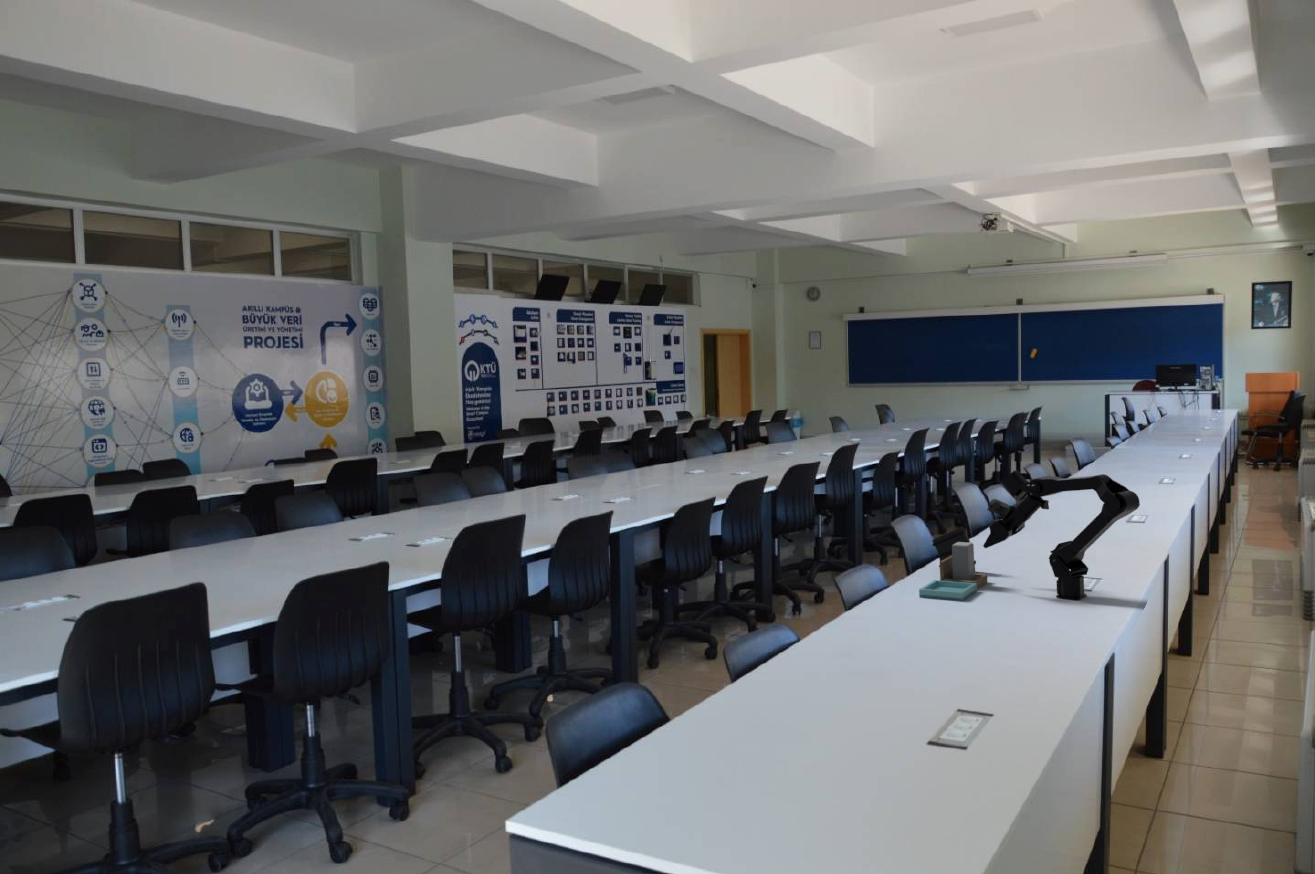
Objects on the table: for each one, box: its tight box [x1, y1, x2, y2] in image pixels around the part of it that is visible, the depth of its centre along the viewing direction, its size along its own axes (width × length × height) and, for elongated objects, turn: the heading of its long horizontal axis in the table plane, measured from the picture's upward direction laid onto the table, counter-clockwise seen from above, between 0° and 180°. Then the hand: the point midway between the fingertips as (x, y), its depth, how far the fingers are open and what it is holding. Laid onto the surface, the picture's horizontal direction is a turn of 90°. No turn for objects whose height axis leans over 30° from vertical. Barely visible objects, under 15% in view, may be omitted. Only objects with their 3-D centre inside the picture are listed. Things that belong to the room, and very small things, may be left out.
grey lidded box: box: [952, 542, 976, 581], centre depth 304 cm, size 5×6×13 cm
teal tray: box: [918, 579, 978, 602], centre depth 294 cm, size 13×14×2 cm
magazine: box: [931, 526, 977, 572], centre depth 324 cm, size 4×13×15 cm, turn 60°
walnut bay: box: [939, 555, 988, 590], centre depth 304 cm, size 11×12×8 cm
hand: (988, 544), depth 299 cm, fingers open, 9 cm apart
